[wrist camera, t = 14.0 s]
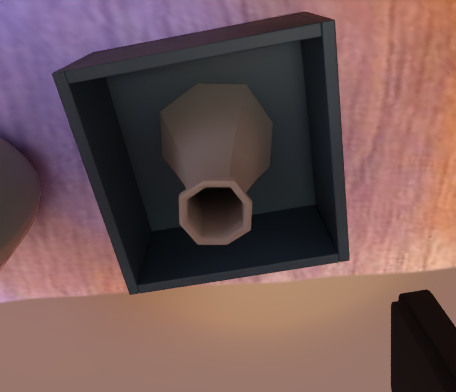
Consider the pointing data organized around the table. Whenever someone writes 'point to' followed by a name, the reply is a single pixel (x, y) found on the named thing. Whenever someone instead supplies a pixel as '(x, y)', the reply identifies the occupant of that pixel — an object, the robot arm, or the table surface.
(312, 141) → the tub
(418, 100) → the table surface
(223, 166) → the flask
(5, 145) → the cup
